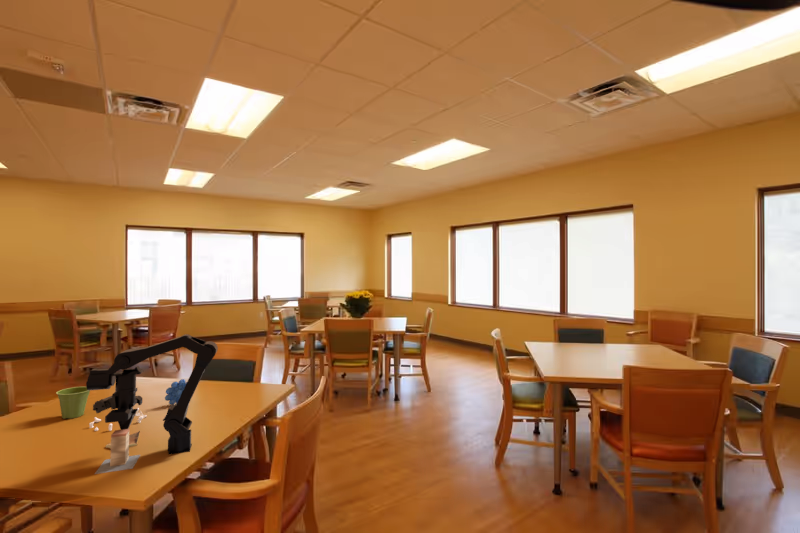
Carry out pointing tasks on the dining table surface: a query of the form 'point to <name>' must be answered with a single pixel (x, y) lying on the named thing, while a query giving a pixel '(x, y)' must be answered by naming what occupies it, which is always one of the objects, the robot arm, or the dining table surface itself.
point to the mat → (107, 468)
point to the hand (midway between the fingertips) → (124, 433)
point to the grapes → (175, 391)
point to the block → (119, 447)
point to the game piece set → (111, 424)
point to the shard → (132, 440)
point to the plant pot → (73, 401)
